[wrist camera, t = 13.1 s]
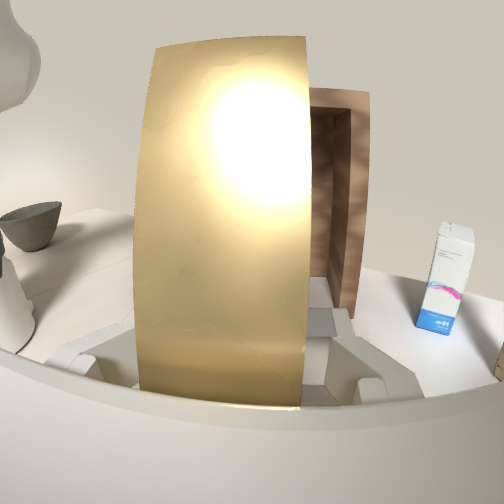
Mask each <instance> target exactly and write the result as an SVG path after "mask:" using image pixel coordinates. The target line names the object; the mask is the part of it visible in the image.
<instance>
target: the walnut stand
mask: <svg viewBox="0 0 504 504" xmlns="http://www.w3.org/2000/svg"><path fill="white" fill-rule="evenodd" d="M309 105H310V134H311V246H310V276H314V277H327V278H328V282H329V286H330V290H331V294H332V298H333V302H334V307H335V308H347V311H348V314H349V317H350V319H353V317H354V311H355V304H356V298H357V291H358V284H359V277H360V270H361V262H362V253H363V244H364V233H365V223H366V210H367V197H368V180H369V151H370V102H369V92H364V91H354V90H343V89H329V88H309Z"/></svg>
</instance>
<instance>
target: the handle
mask: <svg viewBox="0 0 504 504" xmlns="http://www.w3.org/2000/svg"><path fill="white" fill-rule="evenodd" d="M494 375H495V377H497V378H499V379H500V380H501V382H503V381H504V343H503V346H502V348H501V351H500V355H499V358H498V360H497V363H496V366H495V372H494Z"/></svg>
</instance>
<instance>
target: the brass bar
mask: <svg viewBox="0 0 504 504" xmlns="http://www.w3.org/2000/svg"><path fill="white" fill-rule="evenodd" d="M310 246H311V134H310V105H309V84H308V68H307V53H306V39H305V36H252V37H235V38H223V39H213V40H204V41H197V42H189V43H182V44H176V45H170V46H165V47H160V48H156V52H155V56H154V61H153V66H152V71H151V76H150V81H149V87H148V93H147V99H146V105H145V112H144V118H143V126H142V133H141V141H140V150H139V160H138V170H137V182H136V195H135V212H134V237H133V297H134V323H135V339H136V353H137V364H138V375H139V384H140V390H142V391H147V392H153V393H158V394H164V395H170V396H176V397H183V398H190V399H197V400H205V401H214V402H224V403H235V404H248V405H265V406H298V407H300V403H301V393H302V383H303V371H304V359H305V346H306V332H307V316H308V298H309V276H310Z"/></svg>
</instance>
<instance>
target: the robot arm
mask: <svg viewBox="0 0 504 504" xmlns="http://www.w3.org/2000/svg"><path fill="white" fill-rule="evenodd" d="M40 65H41V58H40V52H39V49H38V46H37V44H36V42H35V41H34V39H33V38H32V37H31V36H30V35H28V34H27V33H26V32H25V31H24V30H23V29H22V28H21V27H20V26H19V24H18V23H17V22H16V20H15V18H14V16H13V13H12V10H11V7H10V1H9V0H0V113H1V112H3V111H6V110H8V109H10V108H13V107H15V106H17V105H20V104H22V103H23V102H24V101H25V100H26V99H27V98H28V96H29V95H30V93H31V92H32V90H33V88H34V86H35V84H36V82H37V79H38V76H39V72H40ZM4 253H5V248H4V244H3V236H2V234H1V231H0V504H504V381H503V382H499V383H495V384H492V385H488V386H484V387H479V388H475V389H471V390H466V391H461V392H456V393H451V394H446V395H440V396H434V397H428V398H425V397H424V395H423V393H422V390H421V388H420V385H419V383H418V380H417V378H416V376H415V373H413V372H412V371H410V370H409V369H407V368H406V367H404V366H403V365H401V364H400V363H398V362H397V361H395V360H394V359H392V358H391V357H389V356H388V355H386V354H385V353H383V352H382V351H380V350H379V349H377V348H376V347H374V346H373V345H372V344H370V343H369V342H367V341H366V340H364V339H363V338H361V337H355V333H354V330H353V327H352V324H351V320H350V317H349V314H348V311H347V308H308V316H307V332H306V346H305V359H304V371H303V383H302V384H307V385H324V387H325V388H326V389H327V390H328V391H329V393H330V394H331V395H332V396H333V397H334V398H335V400H336V401H337V402H338V403H339V404H340V405H341V406H316V407H298V406H265V405H248V404H235V403H224V402H214V401H205V400H197V399H190V398H183V397H176V396H170V395H164V394H158V393H153V392H147V391H142V390H137V389H133V388H131V387H132V386H134V385H135V384H137V383H138V382H139V375H138V364H137V353H136V339H135V323H134V308H133V309H132V310H131V311H130V313H129V314H128V315H127V316H126V317H125V318H124V320H123V321H122V322H121V323H120V324H119V323H115V324H113V325H111V326H108V327H106V328H104V329H101V330H99V331H96V332H94V333H92V334H89V335H87V336H84V337H82V338H79V339H77V340H75V341H72V342H70V343H67V344H65V345H62V346H60V347H59V348H58V349H57V350H56V351H55V352H54V353H53V354H52V355H51V357H50V358H49V359H48V360H47V361H46V362H45V363H44V364H42V363H39V362H36V361H33V360H30V359H28V358H25V357H22V356H20V355H17V354H15V353H16V352H17V351H18V350H20V349H21V348H22V347H23V346H24V345H25V344H26V343H27V341H28V340H29V339H30V337H31V336H32V334H33V332H34V329H35V320H34V318H33V315H32V313H33V310H34V305H33V303H32V301H31V300H27V299H26V297H25V294H24V292H23V289H22V287H21V284H20V282H19V279H18V277H17V274H16V271H15V268H14V266H13V263H12V262H11V261H10V260H9V259H7V258H6V257H5V256H4Z"/></svg>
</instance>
